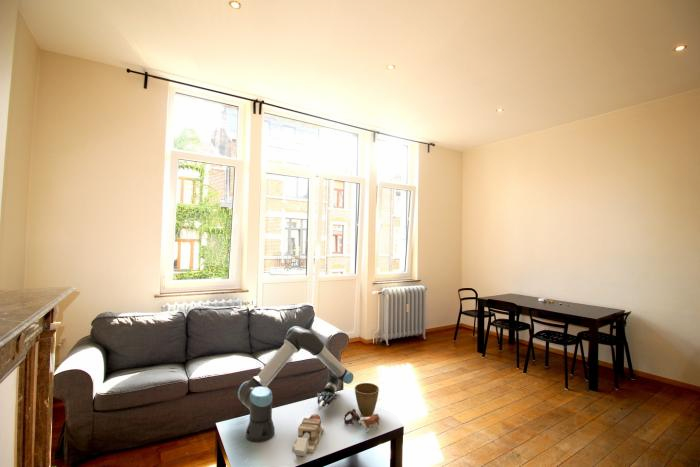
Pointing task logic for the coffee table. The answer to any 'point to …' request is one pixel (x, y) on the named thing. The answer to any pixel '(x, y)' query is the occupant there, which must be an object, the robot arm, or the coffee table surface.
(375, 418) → the bull figurine
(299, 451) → the block
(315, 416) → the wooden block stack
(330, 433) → the coffee table surface
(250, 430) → the robot arm
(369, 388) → the plant pot
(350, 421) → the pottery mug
